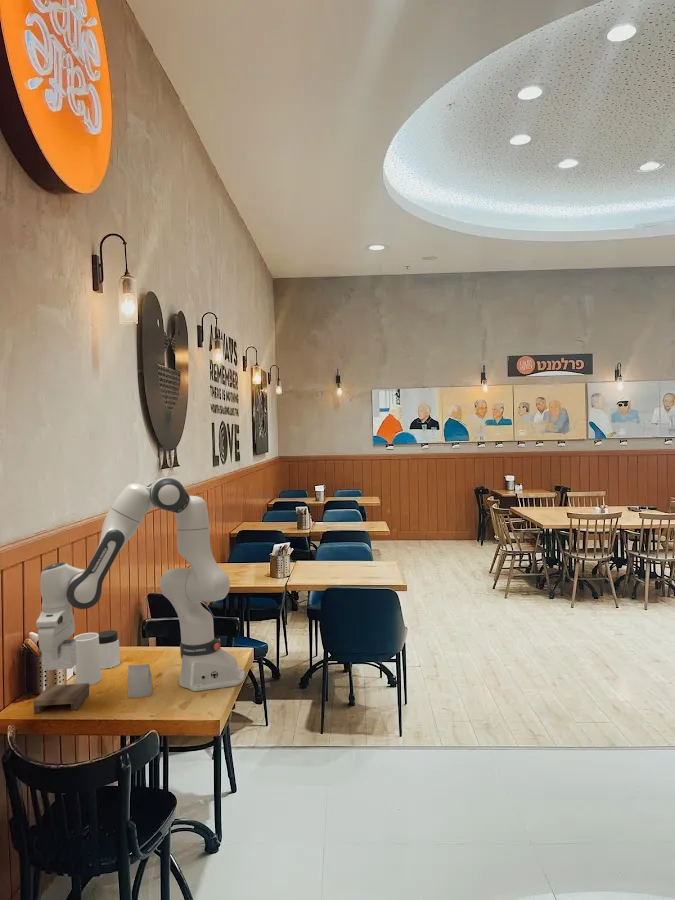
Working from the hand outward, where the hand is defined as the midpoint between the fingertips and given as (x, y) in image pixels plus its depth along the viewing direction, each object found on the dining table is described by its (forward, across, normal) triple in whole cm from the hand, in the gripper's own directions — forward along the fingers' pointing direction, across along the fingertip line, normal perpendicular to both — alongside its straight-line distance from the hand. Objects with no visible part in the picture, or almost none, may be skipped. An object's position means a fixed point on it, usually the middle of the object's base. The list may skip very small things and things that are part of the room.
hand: (59, 656), depth 207 cm
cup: (+16, -19, +2) cm, 24 cm away
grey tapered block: (+16, -4, +24) cm, 29 cm away
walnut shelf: (+15, 0, 0) cm, 16 cm away
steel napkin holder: (+3, 0, 0) cm, 3 cm away
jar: (+15, -34, +4) cm, 37 cm away
